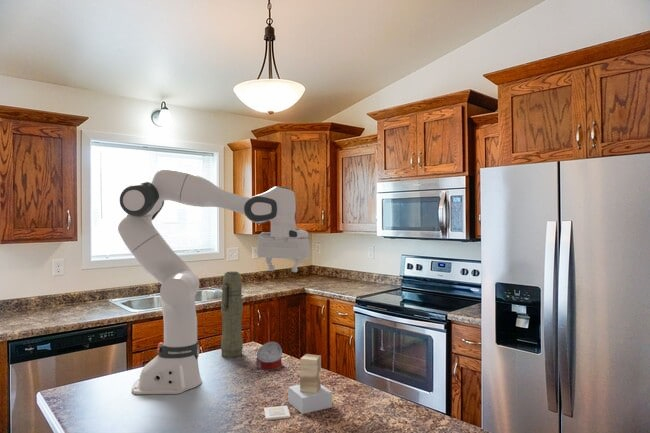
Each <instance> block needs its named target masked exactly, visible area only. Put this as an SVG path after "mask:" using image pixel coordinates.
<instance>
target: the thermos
mask: <svg viewBox="0 0 650 433" xmlns="http://www.w3.org/2000/svg"><path fill="white" fill-rule="evenodd" d="M221 291H222V293H221V295H222V299H221V302H220V303H221V304H220V308H221V311H220V313H221V316H222V317H221V319H222V333H221V334H222V336H221V340H220V350H221V357H222V358H224V359H235V358H236V359H237V358H240V357H241V356H243V349H244V348H243V347H244V345H243V344H244V343H243V341H244V340H243V336H242V314H244V312H243V310H244V308H243V306H244V305H243V297H242V292H243V290H242V277H241V274H240V272H238V271H226V272H224V275H223V278H222V290H221Z"/></svg>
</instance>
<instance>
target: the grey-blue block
mask: <svg viewBox="0 0 650 433" xmlns="http://www.w3.org/2000/svg"><path fill="white" fill-rule="evenodd" d="M287 394H288V396H287V397H288V400H287V401H288V403H289V404H290V405H291V406H293V407H294V408H295V409H296V410H297V411H298V412H300V413H301V414H302V415H304V414H308V413H311V412H316V411H321V410H325V409H329V408H332V407H333V392H332V390H330V389H329V388H327V387H326V386H324V385H322V384H321V388H320V389H319V390H318V391H317V392H316V393H308V392H301V391H300V384H294V385H291V386H288V392H287Z"/></svg>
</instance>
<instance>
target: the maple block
mask: <svg viewBox="0 0 650 433" xmlns="http://www.w3.org/2000/svg"><path fill="white" fill-rule="evenodd" d="M299 361H300V364H299V365H300V367H299V369H300V371H299V379H300V380H299V385H300V391H301V392H308V393H316V392H317V391H318V390H319V389H320V388H321V385H322V384H321V382H322V380H321V379H322V376H321V374H322V355H321V354H319V355H317V354H310V353H305V354H304V355H303V356H302V357H300V360H299Z"/></svg>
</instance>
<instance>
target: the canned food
mask: <svg viewBox="0 0 650 433" xmlns="http://www.w3.org/2000/svg"><path fill="white" fill-rule="evenodd" d="M282 355H283V350H282V347H281V345H280V344H279V343H278V342H275V341H268V342H266V343H264V344H262V345H261V346H260V347H259V349H257V351H256V359H255V360H256V361H255V362H256V364H255V365H256V368H257V369H260V370H266V371H267V370H270V369H271V370H275V369H276V370H277V369H280V368H281V367H282Z"/></svg>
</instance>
